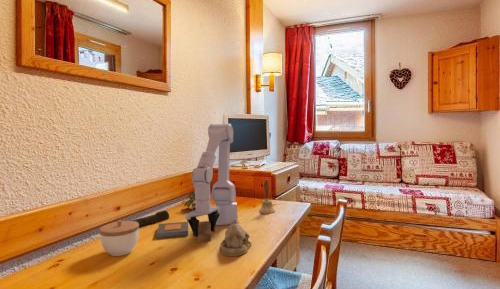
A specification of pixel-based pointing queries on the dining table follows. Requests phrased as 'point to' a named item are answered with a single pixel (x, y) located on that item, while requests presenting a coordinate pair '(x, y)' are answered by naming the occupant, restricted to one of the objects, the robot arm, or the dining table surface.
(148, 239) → the dining table surface
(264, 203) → the hand bell
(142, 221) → the hand tool
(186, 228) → the grey square picture frame
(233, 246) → the ceramic model
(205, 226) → the taupe wooden cube
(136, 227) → the lidded bowl
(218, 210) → the robot arm
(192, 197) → the green leafy plant
